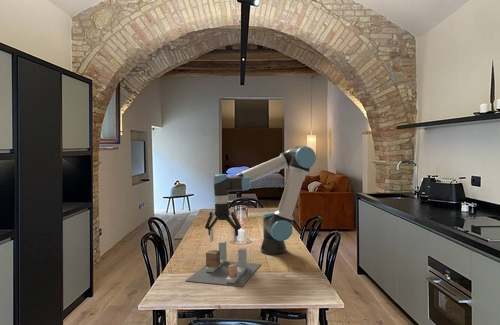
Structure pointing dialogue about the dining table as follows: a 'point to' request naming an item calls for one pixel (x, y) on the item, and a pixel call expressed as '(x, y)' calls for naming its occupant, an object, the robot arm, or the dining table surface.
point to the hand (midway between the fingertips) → (223, 241)
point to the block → (213, 258)
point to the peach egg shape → (232, 270)
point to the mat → (223, 275)
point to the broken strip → (239, 265)
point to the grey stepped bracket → (222, 256)
